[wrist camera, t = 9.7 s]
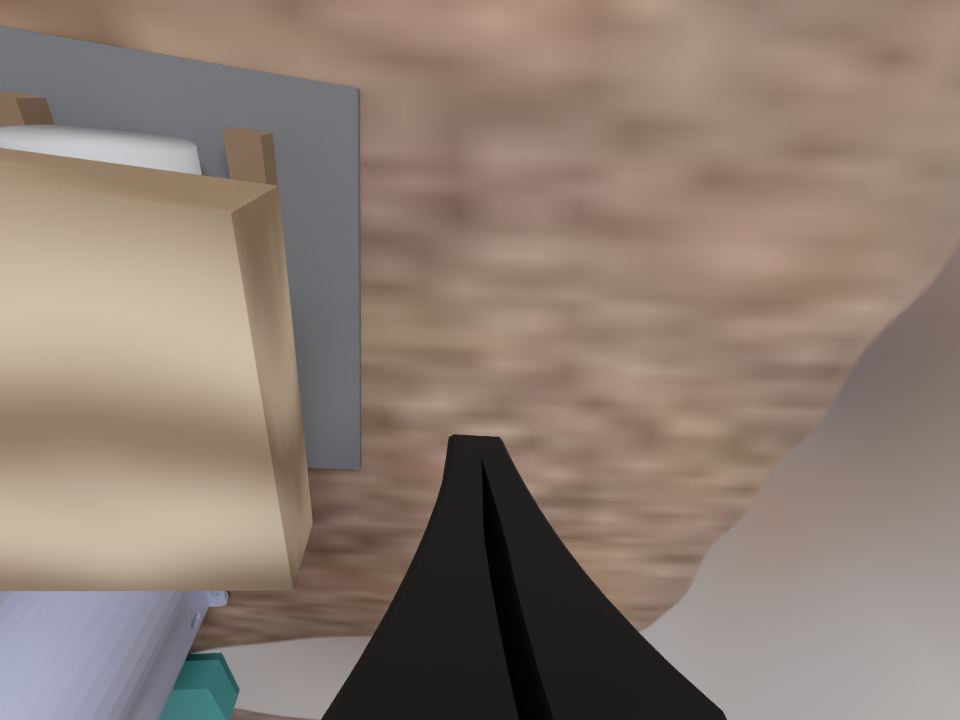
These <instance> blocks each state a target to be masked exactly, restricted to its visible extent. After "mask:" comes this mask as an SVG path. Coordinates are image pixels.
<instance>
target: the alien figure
mask: <svg viewBox="0 0 960 720" xmlns="http://www.w3.org/2000/svg"><path fill="white" fill-rule="evenodd" d="M239 691H240V689H239V687H238V685H237V683H236V681H235V679H234V676H233V674H232V672H231V670H230V669H229V666H228V664H227V663H226V660H225V658H224V656H223V654H222V653H200V654H192V655H190V656H187V657H186V659H185V661H184V664H183V666H182V668H181V670H180V673H179V675H178V677H177V679H176V681H175V684H174V686H173V688H172V690H171V693H170V695H169V697H168V699H167V702H166V704H165V706H164V708H163V710H162V713H161V715H160V717H159V719H158V720H230V718H231V715H232V712H233V709H234V706H235V703H236V700H237V697H238V694H239Z"/></svg>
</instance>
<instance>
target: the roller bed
mask: <svg viewBox="0 0 960 720" xmlns="http://www.w3.org/2000/svg"><path fill="white" fill-rule="evenodd" d="M0 148H6V149H14V150H21V151H28V152H36V153H43V154H50V155H58V156H65V157H72V158H80V159H87V160H94V161H102V162H109V163H116V164H123V165H131V166H138V167H145V168H153V169H160V170H167V171H175V172H182V173H189V174H197V175H204V176H211V177H219V178H226V179H233V180H241V181H248V182H255V183H263V184H270V185H277V186H278V187H279V197H280V207H281V217H282V227H283V236H284V246H285V256H286V266H287V275H288V285H289V295H290V305H291V315H292V324H293V334H294V344H295V354H296V363H297V373H298V383H299V393H300V403H301V412H302V422H303V432H304V442H305V451H306V461H307V468H317V469H342V470H360V467H361V302H360V89H358V88H352V87H346V86H340V85H335V84H329V83H323V82H317V81H312V80H306V79H300V78H294V77H289V76H283V75H277V74H271V73H266V72H260V71H254V70H248V69H243V68H237V67H231V66H226V65H220V64H214V63H208V62H203V61H197V60H191V59H185V58H180V57H174V56H168V55H162V54H157V53H151V52H145V51H139V50H134V49H128V48H122V47H116V46H111V45H105V44H99V43H93V42H88V41H82V40H76V39H70V38H65V37H59V36H53V35H48V34H42V33H36V32H30V31H25V30H19V29H13V28H7V27H2V26H0Z"/></svg>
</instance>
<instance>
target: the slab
mask: <svg viewBox="0 0 960 720" xmlns="http://www.w3.org/2000/svg"><path fill="white" fill-rule="evenodd" d="M312 525H313V520H312V510H311V500H310V491H309V481H308V471H307V461H306V451H305V442H304V432H303V422H302V412H301V403H300V393H299V383H298V373H297V363H296V354H295V344H294V334H293V324H292V315H291V305H290V295H289V285H288V275H287V266H286V256H285V246H284V236H283V227H282V217H281V207H280V197H279V187H278V186H277V185H270V184H263V183H255V182H248V181H241V180H233V179H226V178H219V177H211V176H204V175H197V174H189V173H182V172H175V171H167V170H160V169H153V168H145V167H138V166H131V165H123V164H116V163H109V162H102V161H94V160H87V159H80V158H72V157H65V156H58V155H50V154H43V153H36V152H28V151H21V150H14V149H6V148H0V591H293V590H294V586H295V583H296V579H297V576H298V573H299V569H300V566H301V562H302V559H303V556H304V552H305V549H306V545H307V542H308V539H309V535H310V532H311V528H312Z"/></svg>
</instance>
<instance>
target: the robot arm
mask: <svg viewBox="0 0 960 720" xmlns="http://www.w3.org/2000/svg"><path fill="white" fill-rule="evenodd" d="M228 599H229V595H228V592H227V591H0V720H158V719H159V717H160V715H161V713H162V710H163V708H164V706H165V704H166V702H167V699H168V697H169V695H170V693H171V690H172V688H173V686H174V684H175V681H176V679H177V677H178V675H179V673H180V670H181V668H182V666H183V664H184V661H185V659H186V657H187V655H188V652H189V650H190V648H191V646H192V643H193V641H194V639H195V637H196V635H197V632H198V630H199V628H200V626H201V623H202V621H203V619H204V617H205V614H206V612H207V610H208V608H209V607H221V606H224V605H226V604H227V602H228ZM321 720H727V719H726V717H725V715H724V713H723V711H722V710H721V709H720V708H718V707H717V706H716V705H715V704H714V703H713V702H712V701H711V700H709V699H708V698H707V697H706V696H705V695H704V694H703V693H702V692H701V691H700V690H698V689H697V688H696V687H695V686H694V685H693V684H692V683H691V682H690V681H688V680H687V679H686V678H685V677H684V676H683V675H682V674H681V673H679V672H678V671H677V670H676V669H675V668H674V667H673V666H672V665H671V664H670V663H669V662H668V661H667V660H666V659H665V658H664V657H663V656H662V655H661V654H660V653H659V652H658V651H657V650H655V648H654V647H653V646H652V645H651V644H650V643H649V642H648V641H646V640H645V638H644V637H643V636H642V635H641V634H640V633H639V632H638V631H637V630H636V629H635V628H634V627H633V626H632V625H631V624H630V622H629V621H628V620H627V619H626V618H625V617H624V616H623V615H622V614H621V613H620V612H619V611H618V609H617V608H616V607H615V606H614V605H613V604H612V603H611V602H610V601H609V600H608V599H607V598H606V596H605V595H604V594H603V593H602V592H601V591H600V589H599V588H598V587H597V586H596V585H595V583H594V582H593V581H592V580H591V579H590V577H589V576H588V575H587V574H586V573H585V571H584V570H583V569H582V568H581V566H580V565H579V564H578V562H577V561H576V560H575V559H574V557H573V556H572V555H571V553H570V552H569V551H568V549H567V548H566V547H565V545H564V544H563V542H562V541H561V540H560V538H559V537H558V535H557V534H556V533H555V531H554V530H553V528H552V527H551V525H550V524H549V522H548V521H547V519H546V518H545V516H544V515H543V513H542V512H541V510H540V508H539V507H538V505H537V504H536V502H535V500H534V499H533V497H532V495H531V494H530V492H529V490H528V489H527V487H526V485H525V483H524V482H523V480H522V478H521V476H520V475H519V473H518V471H517V469H516V467H515V465H514V463H513V461H512V460H511V458H510V456H509V454H508V451H507V449H506V447H505V445H504V443H503V441H502V440H501V438H500V437H491V436H473V435H455V434H454V435H452V436H450V437H449V441H448V447H447V454H446V461H445V468H444V474H443V481H442V485H441V488H440V491H439V495H438V498H437V501H436V504H435V507H434V509H433V512H432V515H431V517H430V520H429V522H428V525H427V528H426V530H425V533H424V535H423V538H422V540H421V542H420V545H419V547H418V549H417V551H416V554H415V556H414V558H413V560H412V562H411V564H410V567H409V569H408V571H407V573H406V575H405V577H404V579H403V581H402V583H401V585H400V587H399V589H398V591H397V593H396V595H395V597H394V599H393V601H392V602H391V604H390V606H389V608H388V610H387V612H386V614H385V615H384V617H383V619H382V621H381V622H380V624H379V626H378V628H377V629H376V631H375V633H374V635H373V636H372V638H371V640H370V642H369V643H368V645H367V647H366V649H365V650H364V652H363V654H362V655H361V657H360V659H359V661H358V662H357V664H356V665H355V667H354V669H353V670H352V672H351V674H350V675H349V677H348V678H347V680H346V681H345V683H344V685H343V686H342V688H341V689H340V691H339V693H338V694H337V695H336V697H335V699H334V700H333V702H332V703H331V705H330V707H329V708H328V710H327V711H326V713H325V714H324V716H323V717H322V719H321Z"/></svg>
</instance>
